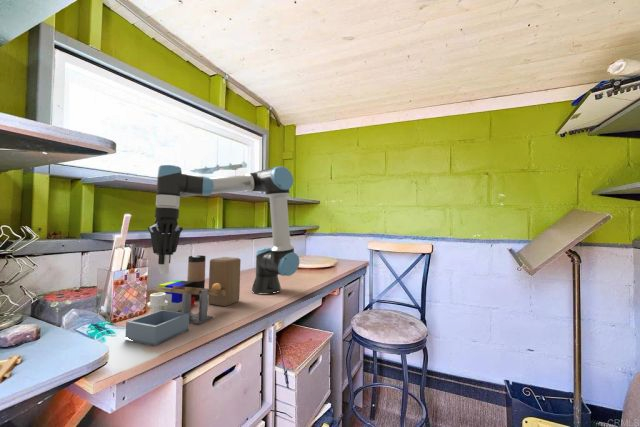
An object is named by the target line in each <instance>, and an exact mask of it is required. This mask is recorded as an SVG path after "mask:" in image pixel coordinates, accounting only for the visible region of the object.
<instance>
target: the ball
mask: <svg viewBox="0 0 640 427" xmlns="http://www.w3.org/2000/svg"><path fill="white" fill-rule="evenodd" d="M212 289H215V290H221V285H220V284H219V283H215V284H213V286H212Z"/></svg>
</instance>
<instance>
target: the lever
mask: <svg viewBox="0 0 640 427" xmlns="http://www.w3.org/2000/svg"><path fill="white" fill-rule="evenodd" d="M204 289H208V295H216V296H225V294H226V289H227V288H222V287H221V290H215V289H209V288H206V287H204V288H194V287H181V286H173V288H164V287H158V286H155V287H154V291H155V292H158V291H164V292H173V293H181V294H195V295H200V291H201V290H204Z"/></svg>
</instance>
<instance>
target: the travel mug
mask: <svg viewBox="0 0 640 427" xmlns="http://www.w3.org/2000/svg"><path fill="white" fill-rule="evenodd" d="M187 260H188V262H187V263H188V264H187V278H186V279H187V280H186V281H194V282H195V288H205V285H206V255H196V256H192V255H190V256H188V258H187ZM199 297H200V295H195V301H199Z"/></svg>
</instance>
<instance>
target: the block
mask: <svg viewBox="0 0 640 427" xmlns="http://www.w3.org/2000/svg"><path fill="white" fill-rule="evenodd" d="M241 261H242V260H241V258H239V257H228V256H222V257H215V258H211V259H210V260H209V274H208V275H209V276H208V279H209V280H208V289H212V286H213V284H215V283H219V284H220V285H221V287H222V288H227V289H226V294H225V296H216V295H208V305H213V306H220V307H227V306H230V305H232V304H235V303H237V302H239V301H240V293H241V292H240V287H241V286H240V285H241Z"/></svg>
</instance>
